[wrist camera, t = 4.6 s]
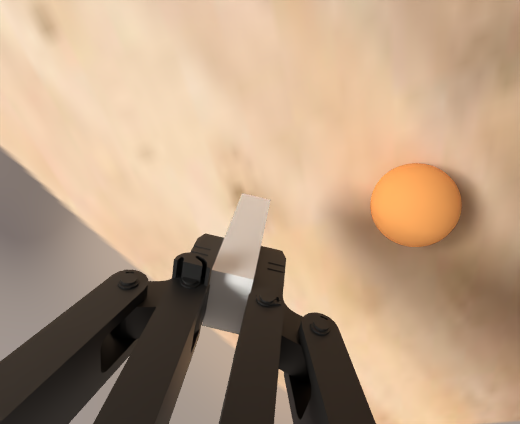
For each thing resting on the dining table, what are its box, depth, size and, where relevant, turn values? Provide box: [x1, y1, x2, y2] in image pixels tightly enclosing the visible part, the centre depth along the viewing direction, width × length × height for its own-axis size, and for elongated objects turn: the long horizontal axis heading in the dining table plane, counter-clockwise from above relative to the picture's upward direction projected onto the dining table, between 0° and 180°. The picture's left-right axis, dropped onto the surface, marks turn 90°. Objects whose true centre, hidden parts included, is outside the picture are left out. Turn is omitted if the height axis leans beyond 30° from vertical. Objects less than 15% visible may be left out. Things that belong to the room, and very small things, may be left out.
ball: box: [370, 163, 461, 247], centre depth 23 cm, size 6×6×6 cm
